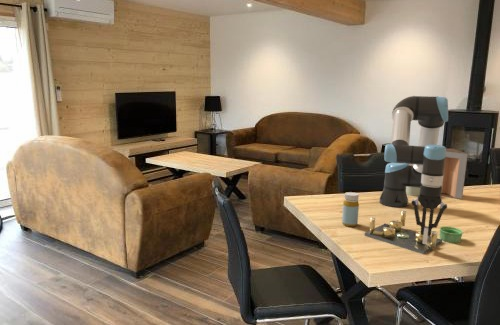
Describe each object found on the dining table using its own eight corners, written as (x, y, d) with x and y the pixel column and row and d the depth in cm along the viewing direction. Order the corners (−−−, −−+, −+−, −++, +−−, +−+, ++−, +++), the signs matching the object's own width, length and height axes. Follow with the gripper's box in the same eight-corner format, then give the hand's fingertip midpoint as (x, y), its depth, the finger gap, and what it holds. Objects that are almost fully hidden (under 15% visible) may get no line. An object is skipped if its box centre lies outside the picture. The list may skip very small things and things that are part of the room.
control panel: (364, 235, 172) (364, 231, 172) (384, 225, 184) (385, 221, 184) (423, 254, 153) (424, 249, 153) (442, 242, 166) (442, 237, 165)
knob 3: (412, 239, 165) (413, 224, 163) (422, 238, 166) (424, 223, 164) (428, 249, 155) (430, 233, 153) (439, 248, 156) (441, 232, 154)
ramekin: (451, 245, 163) (452, 235, 162) (433, 237, 171) (434, 227, 170) (466, 242, 167) (467, 232, 166) (448, 234, 175) (449, 225, 174)
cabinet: (424, 192, 244) (429, 148, 238) (430, 190, 251) (434, 146, 245) (461, 199, 230) (467, 152, 224) (465, 196, 237) (471, 150, 231)
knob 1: (395, 234, 169) (396, 220, 168) (393, 238, 165) (395, 223, 163) (370, 230, 174) (371, 216, 172) (368, 234, 169) (369, 219, 168)
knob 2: (397, 231, 173) (399, 217, 171) (387, 228, 176) (388, 214, 175) (408, 226, 180) (410, 212, 179) (398, 223, 183) (399, 209, 182)
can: (401, 193, 241) (403, 174, 239) (408, 191, 247) (410, 172, 245) (416, 196, 234) (418, 177, 232) (423, 194, 241) (425, 175, 238)
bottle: (348, 228, 181) (351, 196, 178) (338, 223, 187) (340, 192, 184) (360, 225, 184) (362, 194, 181) (350, 221, 190) (352, 191, 187)
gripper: (412, 185, 151) (406, 242, 155) (449, 189, 145) (442, 249, 150) (413, 181, 157) (408, 236, 162) (450, 185, 152) (443, 242, 156)
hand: (424, 242), depth 156 cm, fingers closed
